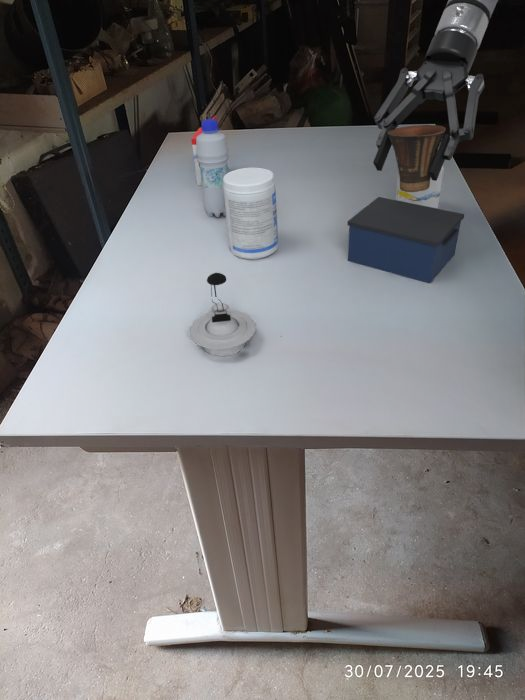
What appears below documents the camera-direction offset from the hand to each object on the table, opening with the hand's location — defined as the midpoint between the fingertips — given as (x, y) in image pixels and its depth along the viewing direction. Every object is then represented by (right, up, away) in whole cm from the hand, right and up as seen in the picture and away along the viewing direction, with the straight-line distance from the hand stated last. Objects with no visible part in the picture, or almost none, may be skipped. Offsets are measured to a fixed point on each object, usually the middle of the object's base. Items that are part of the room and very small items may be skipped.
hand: (404, 171), depth 88 cm
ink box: (+9, -1, +26) cm, 28 cm away
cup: (+2, -1, +4) cm, 5 cm away
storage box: (+3, -12, +13) cm, 18 cm away
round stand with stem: (-29, -28, -5) cm, 41 cm away
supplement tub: (-25, -9, +18) cm, 32 cm away
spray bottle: (-37, +14, +49) cm, 63 cm away
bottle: (-33, +1, +33) cm, 46 cm away
